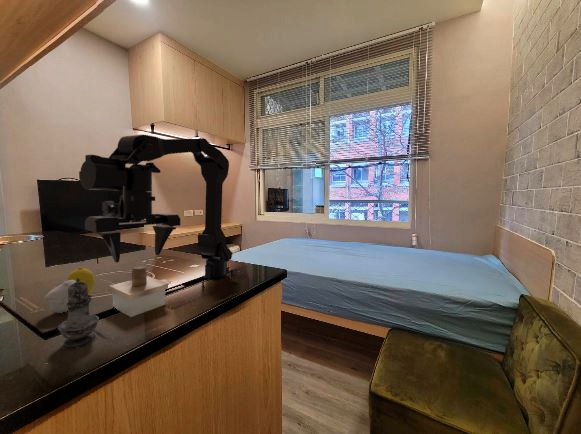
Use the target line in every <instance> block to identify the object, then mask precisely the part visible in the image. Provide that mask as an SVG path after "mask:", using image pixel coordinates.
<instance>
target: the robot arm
mask: <svg viewBox="0 0 581 434" xmlns="http://www.w3.org/2000/svg"><path fill="white" fill-rule="evenodd" d="M184 153H185V154H186V153H191V154H192V155H193V159H194V161H195V162H196V163H197V164H198V165H199V166H200V173H201V176H202V178H203V179H204V181H205V209H204V210H205V216H204V229H203V231H202V232H201V233H199V234H197V245H196V247H197V248H198V252H199V253H200V255H201V259H204V260H205V264H204V275H205V276H204V275H202V278H206V279H208V280H212V281H215V282H216V281H219V280H222V279H225V278H228V277H230V276H231V275H230V274H228V262H230V261H231V260H232V258H233V254H234V253H233V252H232V251H231V250H230V248H229V246H228V245H227V237H226V235H225V233H224V232H223V230H222V216H223V215H222V214H223V213H222V212H223V211H222V210H223V185H224V182H225V180H226V179H227V178H228V175H229V169H230V161H229V159H228V158H227V157H226V156H225V154H224V153H223V152H222V151H221V150H220V149H219V148H217V147H215V146H214V145H212V144H211V143H210V142H209V141H208V140H207V139H206V138H204V137H202V136H201V137H192V138H191V137H190V138H170V139H168V138H166V139H165V138H162V137H161V138H160V137H158V136H153V135H150V134H149V135H148V134H137V135H126V136H122V137H120V139H119V141H118V142H117V147H116V148H115V149H114V151H112V153H111V154H110V155H109V156H108V157H106V156H100V155H97V154H86V155H85V156H84V157H85V160H84V161H83V163H82V164H81V167H80V171H78V178H79V182H80V184H81V186H82V188H83V189H85V190H86V191H87V190H88V191H92V190H93V191H112V192H113V191H115V192H116V191H118V192H119V191H120V190H122V195H120V196H119V202H117V203H115V201H113V200H105V201H103V202H102V205H101V210H102V215H97V216H95V215H94V216H92V215H91V216H88V217H87V218H86V219H85V221H84V230H85V231H89V232H93V234H95V235H98V236H100V237H101V238H102V239H103V241H104V242H105V244H106V246H107V248H108V250H109V252H110V254H111V256H112V257H111V258H112V259H113V260H114V262H115V263H120V258H121V232H120V231H118V229H119V228H122V227H123V228H124V227H137V226H150V225H152V229H153V231H154V252H155V255H156V256H160V254H161V252H162V250H163V248H164V246H165V245H166V242H167V240H168V239H169V237H170V236H171V234H172V232H173V231H175V230H176V229H177V227H181V225H182V220H181V219H182V218H181V216H180V215H179V214H175V213H170V212H169V213H167V212H166V213H153V202H155V201H156V196H155V195H153V174H160V173H161V172H162V171H161V170H160V168H159V167H157V166H156V165H155V163H154V162H151V161H154V160H157V159H160V158H162V157H164V156H167V155H173V154H184ZM143 162H146V163H145V164H140V163H143ZM127 165H130V166H129V167H127Z"/></svg>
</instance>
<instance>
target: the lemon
mask: <svg viewBox="0 0 581 434" xmlns="http://www.w3.org/2000/svg"><path fill="white" fill-rule="evenodd" d="M77 278H79V279H80V280H79V282H84V283H86V284H87V286H88V294H89V293H91V292H92V291H93V289H94V287H95V283H96V280H95V276H94V274H93V271H91V270H89V269H88V268H84V267H81V266H80V267H78V268H77V269H74V270H73V271H72V272H70V274H69V275H68V277H67V280H66V281H68V280H74V281H75V280H76V279H77Z"/></svg>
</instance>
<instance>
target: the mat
mask: <svg viewBox="0 0 581 434" xmlns="http://www.w3.org/2000/svg"><path fill="white" fill-rule="evenodd" d="M159 280H160V281H163V282H165V283H168V285H169V284H171V282H173V280H172V281H171V280H169V279H165V278H163V279H159ZM180 285H181V286H178V287H175V288H172V289H169V290H167V291H165V294H166V293H167V292H168V293H169V292H172V291H174V290H178V289H181V288H183V287H185V285H182V284H180Z"/></svg>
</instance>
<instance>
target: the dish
mask: <svg viewBox="0 0 581 434" xmlns="http://www.w3.org/2000/svg"><path fill="white" fill-rule="evenodd" d="M165 305H166V293H165V290H162V291H158V292H155V293H152V294H149V295H145V296H142V297H139V298H136V299H133V300H127V299H125V298H123V297H121V296H119V295H117V294H115V293H113V292H112V307H113V306H114V307H115V308H116V309H117V311H119V312H121V313H123V314H124V315H126V316H127V317H130V318H132V317H135V316H139V315H141V314H143V313H147V312H149V311H152V310H154V309H155V310H156V309H157V308H160V307H163V306H165ZM115 308H114V309H115ZM116 309H115V310H116Z"/></svg>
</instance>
